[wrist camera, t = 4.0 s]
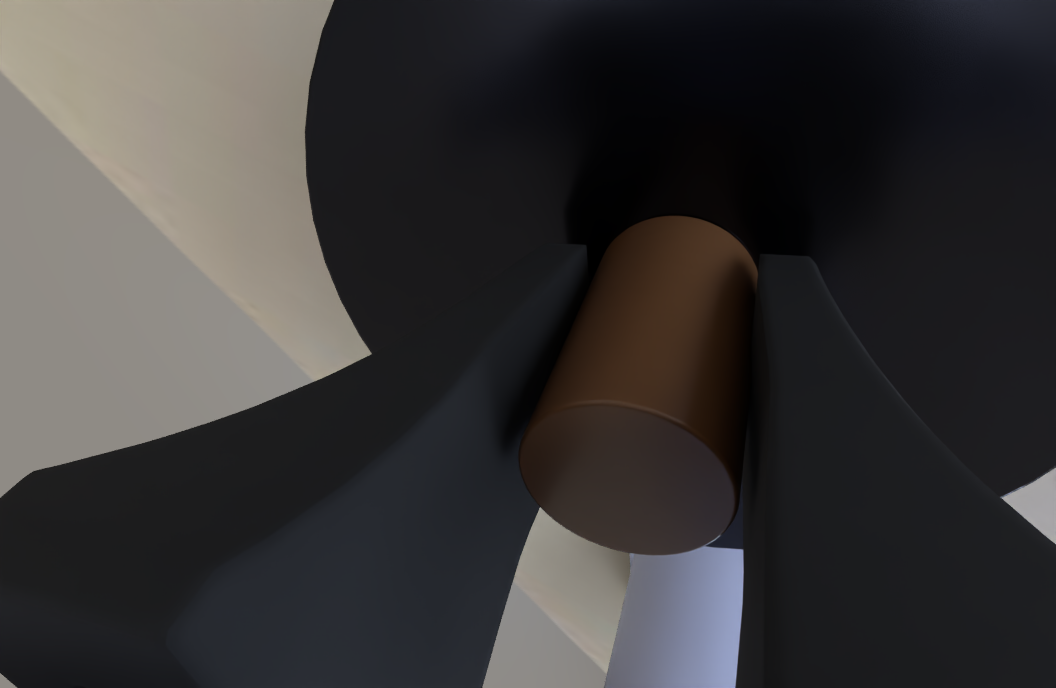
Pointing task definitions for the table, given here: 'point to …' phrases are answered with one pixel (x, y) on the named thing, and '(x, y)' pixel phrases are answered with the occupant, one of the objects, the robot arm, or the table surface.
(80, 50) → the table surface
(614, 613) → the table surface
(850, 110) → the lid
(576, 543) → the table surface
